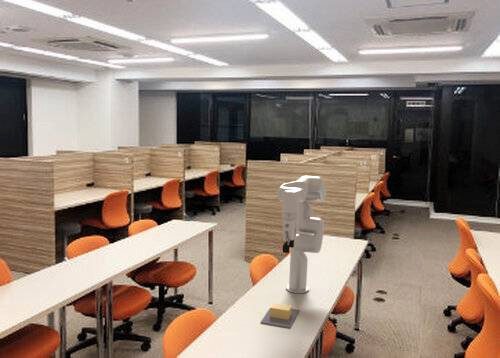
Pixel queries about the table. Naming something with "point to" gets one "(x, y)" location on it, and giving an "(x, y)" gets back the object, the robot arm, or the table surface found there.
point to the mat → (279, 321)
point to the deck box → (280, 311)
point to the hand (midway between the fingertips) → (288, 249)
